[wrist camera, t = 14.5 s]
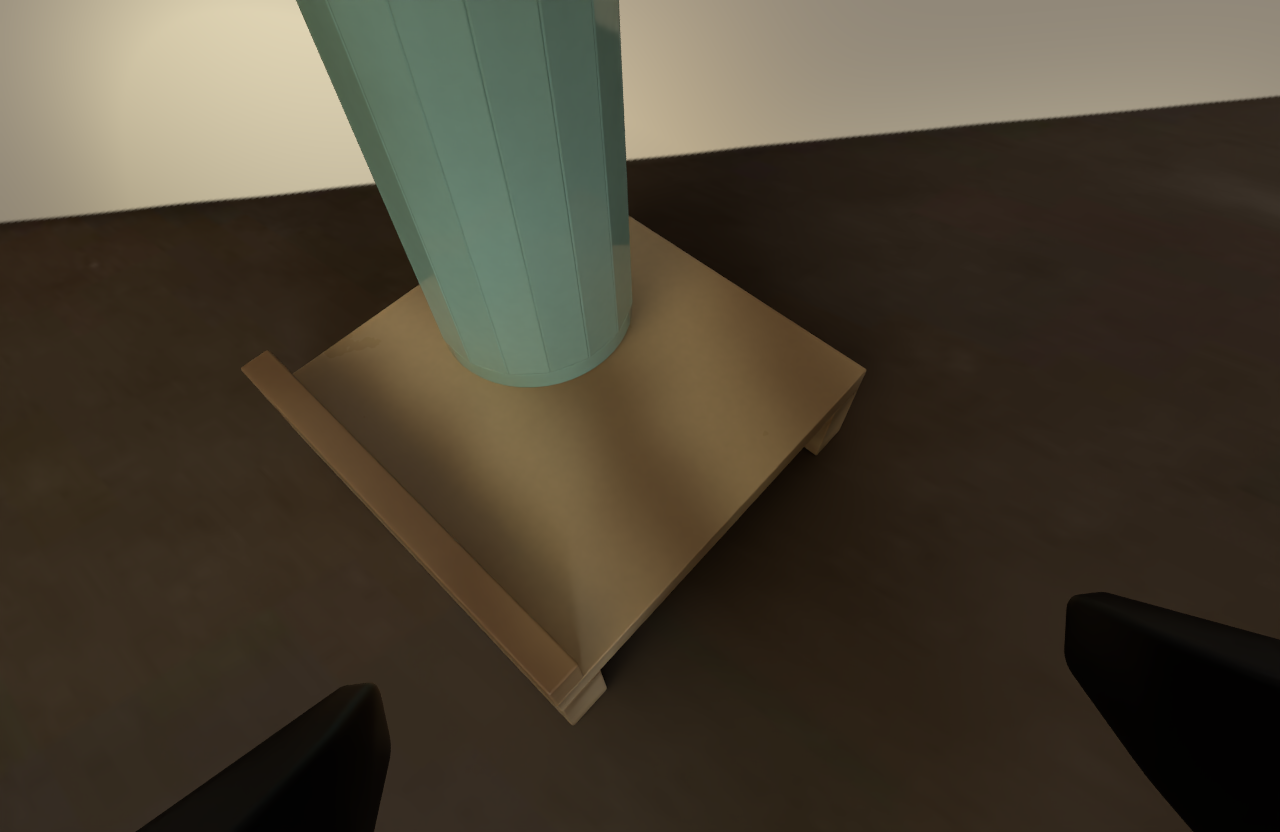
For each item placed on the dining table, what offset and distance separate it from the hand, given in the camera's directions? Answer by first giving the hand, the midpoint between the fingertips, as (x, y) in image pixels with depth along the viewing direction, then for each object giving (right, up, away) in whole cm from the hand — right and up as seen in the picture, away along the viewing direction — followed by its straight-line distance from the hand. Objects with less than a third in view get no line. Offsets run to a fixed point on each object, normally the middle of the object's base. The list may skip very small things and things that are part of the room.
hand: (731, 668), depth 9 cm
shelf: (-4, +2, +17) cm, 18 cm away
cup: (-5, +7, +15) cm, 17 cm away
